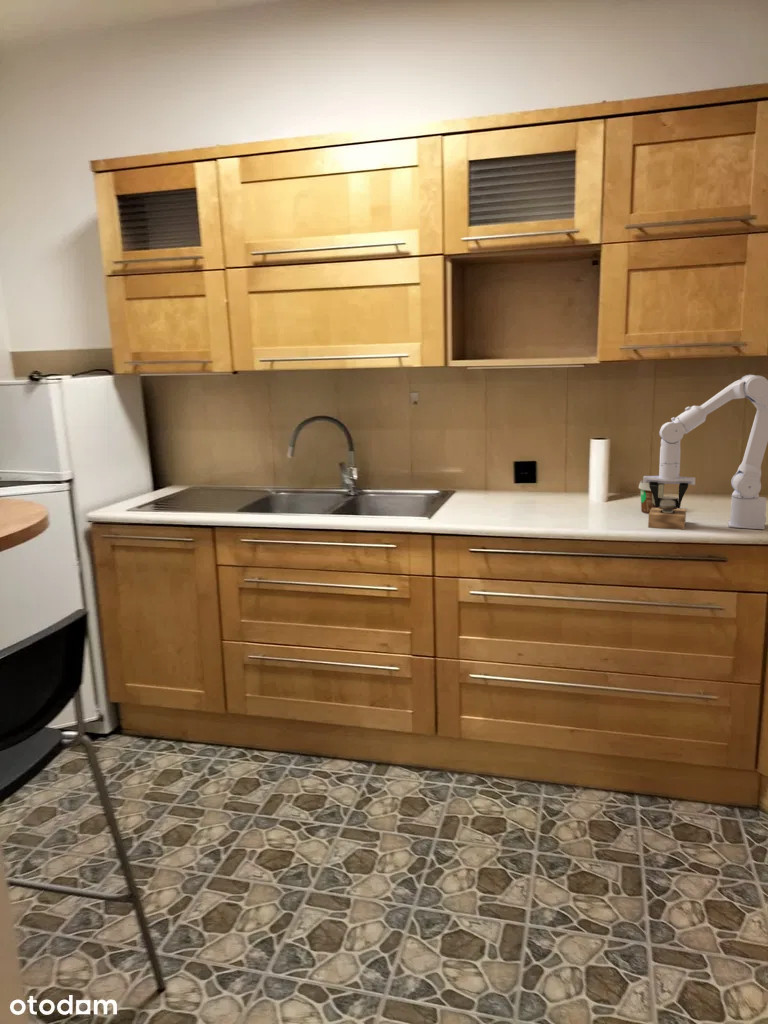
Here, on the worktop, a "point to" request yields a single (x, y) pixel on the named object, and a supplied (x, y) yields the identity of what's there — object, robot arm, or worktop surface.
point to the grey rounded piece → (667, 504)
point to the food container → (649, 496)
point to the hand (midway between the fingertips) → (667, 507)
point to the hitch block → (667, 519)
